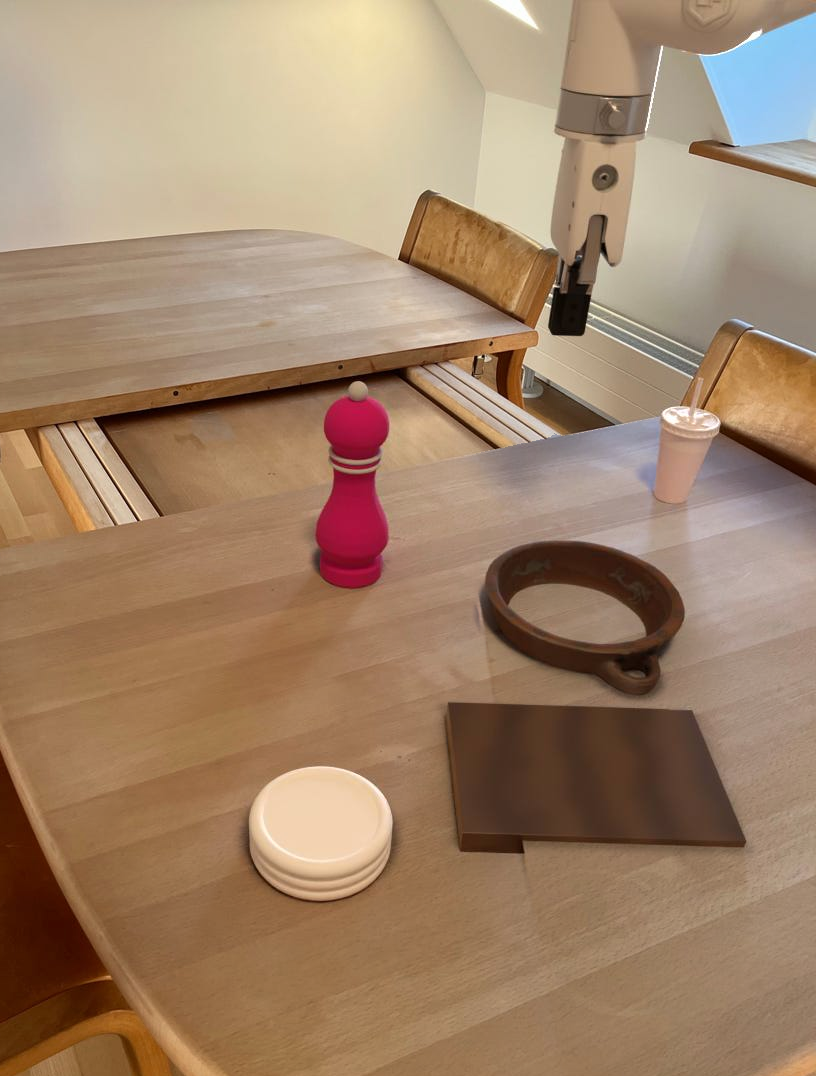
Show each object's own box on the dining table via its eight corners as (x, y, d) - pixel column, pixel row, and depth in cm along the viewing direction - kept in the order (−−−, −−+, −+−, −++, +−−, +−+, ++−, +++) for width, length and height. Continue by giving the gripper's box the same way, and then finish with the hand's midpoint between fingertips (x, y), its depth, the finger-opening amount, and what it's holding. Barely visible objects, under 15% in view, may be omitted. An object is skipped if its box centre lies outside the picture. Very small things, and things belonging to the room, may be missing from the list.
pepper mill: (390, 556, 100) (403, 370, 88) (381, 595, 94) (393, 402, 82) (322, 548, 101) (325, 363, 89) (308, 586, 95) (310, 394, 83)
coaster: (327, 776, 75) (328, 743, 73) (418, 854, 69) (422, 820, 67) (222, 840, 69) (219, 806, 67) (311, 930, 64) (311, 896, 61)
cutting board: (686, 727, 80) (692, 709, 79) (738, 860, 69) (747, 841, 68) (445, 720, 80) (447, 701, 79) (459, 851, 69) (462, 832, 68)
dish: (580, 555, 101) (589, 513, 98) (729, 679, 86) (745, 634, 83) (435, 591, 95) (440, 547, 92) (566, 731, 80) (577, 685, 77)
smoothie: (697, 486, 114) (729, 372, 106) (700, 513, 109) (735, 395, 101) (641, 479, 115) (669, 366, 107) (642, 505, 110) (671, 388, 102)
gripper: (670, 133, 75) (622, 363, 86) (627, 102, 87) (589, 307, 98) (573, 130, 75) (537, 361, 86) (543, 99, 87) (515, 305, 98)
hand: (565, 332), depth 92 cm, fingers closed
